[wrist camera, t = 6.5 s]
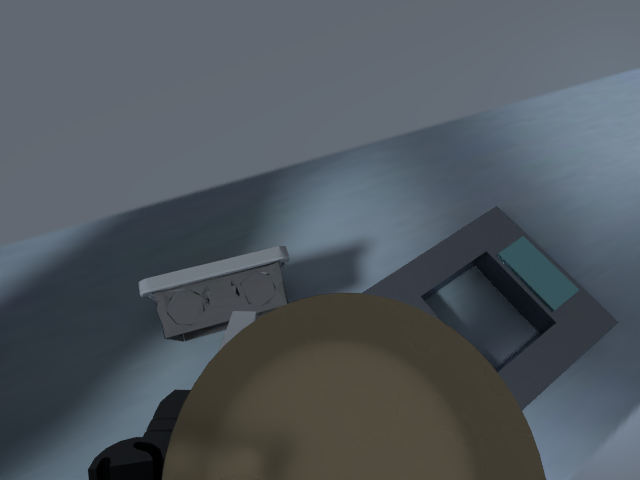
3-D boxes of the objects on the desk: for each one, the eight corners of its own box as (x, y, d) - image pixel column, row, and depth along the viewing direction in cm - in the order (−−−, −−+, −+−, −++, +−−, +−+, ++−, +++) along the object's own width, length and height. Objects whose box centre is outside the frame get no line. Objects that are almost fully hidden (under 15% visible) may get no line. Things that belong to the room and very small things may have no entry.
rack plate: (462, 454, 30) (477, 451, 27) (351, 308, 34) (356, 295, 32) (597, 332, 35) (619, 321, 33) (485, 221, 40) (497, 204, 38)
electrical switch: (278, 271, 36) (280, 220, 27) (295, 329, 34) (302, 293, 25) (165, 300, 34) (130, 255, 25) (176, 363, 32) (142, 337, 23)
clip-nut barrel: (220, 553, 14) (84, 697, 4) (259, 392, 17) (227, 266, 7) (374, 586, 14) (577, 807, 4) (389, 418, 16) (534, 325, 7)
